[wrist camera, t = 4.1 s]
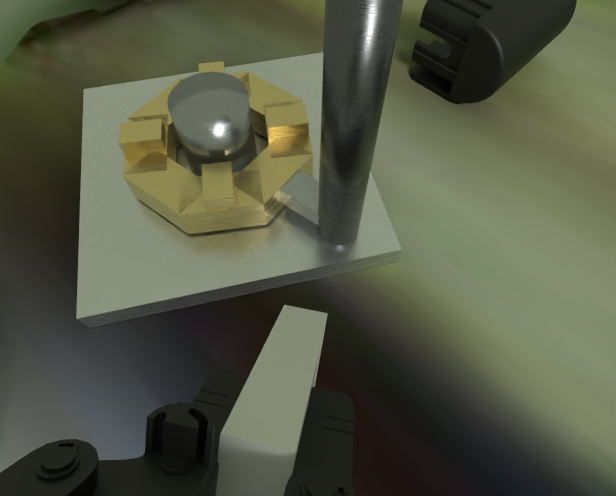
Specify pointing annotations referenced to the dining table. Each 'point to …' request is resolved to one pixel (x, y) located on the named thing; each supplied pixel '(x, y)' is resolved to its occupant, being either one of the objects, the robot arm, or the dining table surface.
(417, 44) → the end cap
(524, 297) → the dining table surface
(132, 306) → the housing
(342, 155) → the gold and grey piece
